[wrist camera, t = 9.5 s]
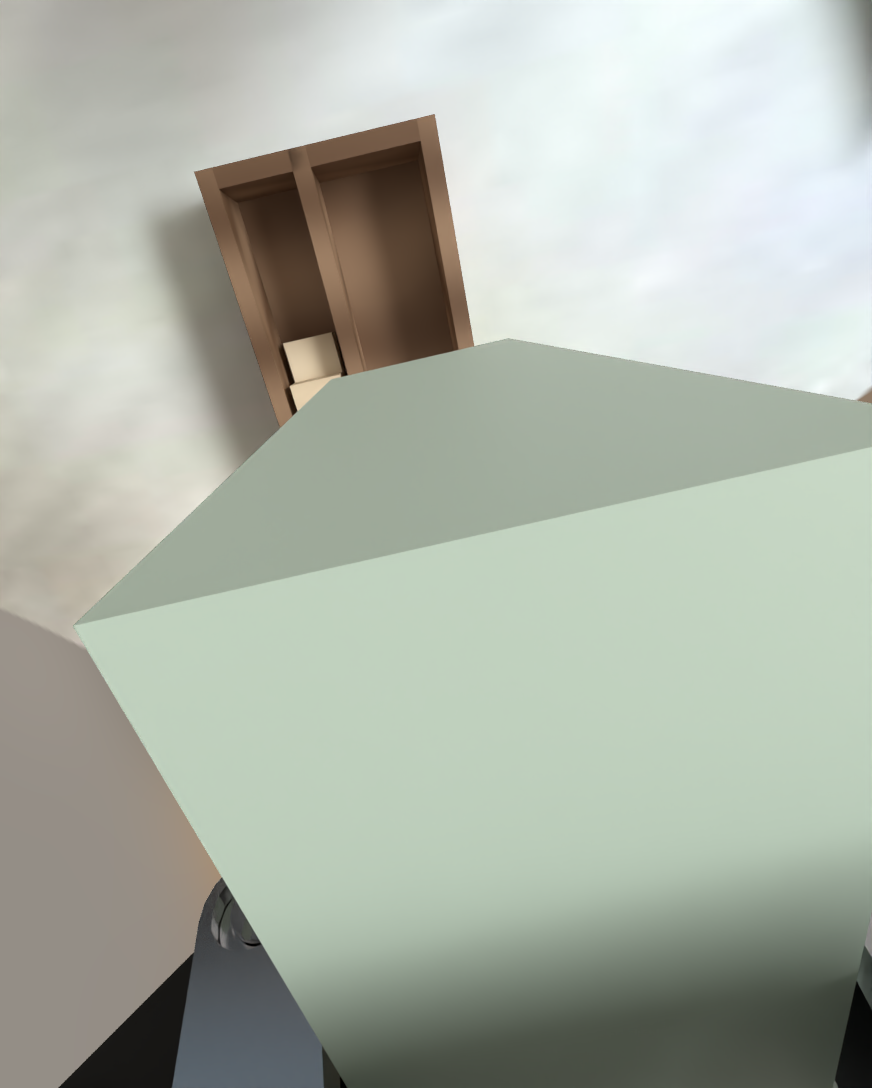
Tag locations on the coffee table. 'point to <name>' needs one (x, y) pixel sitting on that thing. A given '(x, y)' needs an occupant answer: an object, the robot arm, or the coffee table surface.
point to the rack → (342, 250)
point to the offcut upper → (310, 388)
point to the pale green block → (531, 717)
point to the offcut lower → (314, 357)
